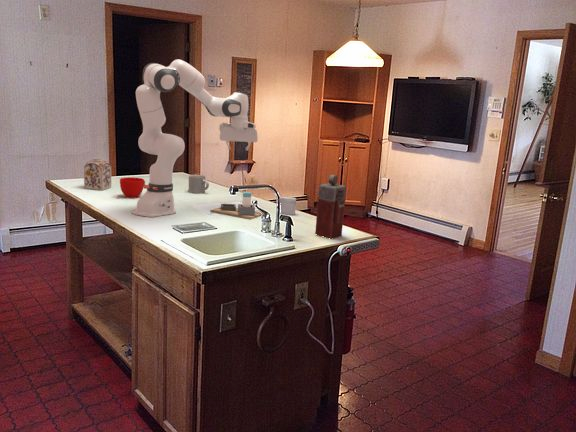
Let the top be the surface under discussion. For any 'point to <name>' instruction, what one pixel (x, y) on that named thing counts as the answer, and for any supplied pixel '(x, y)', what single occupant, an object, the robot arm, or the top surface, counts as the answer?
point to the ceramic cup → (132, 186)
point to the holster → (228, 207)
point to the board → (235, 213)
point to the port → (246, 210)
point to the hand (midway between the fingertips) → (238, 149)
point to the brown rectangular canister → (330, 209)
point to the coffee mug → (197, 184)
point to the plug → (246, 199)
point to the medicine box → (288, 205)
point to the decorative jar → (97, 175)
